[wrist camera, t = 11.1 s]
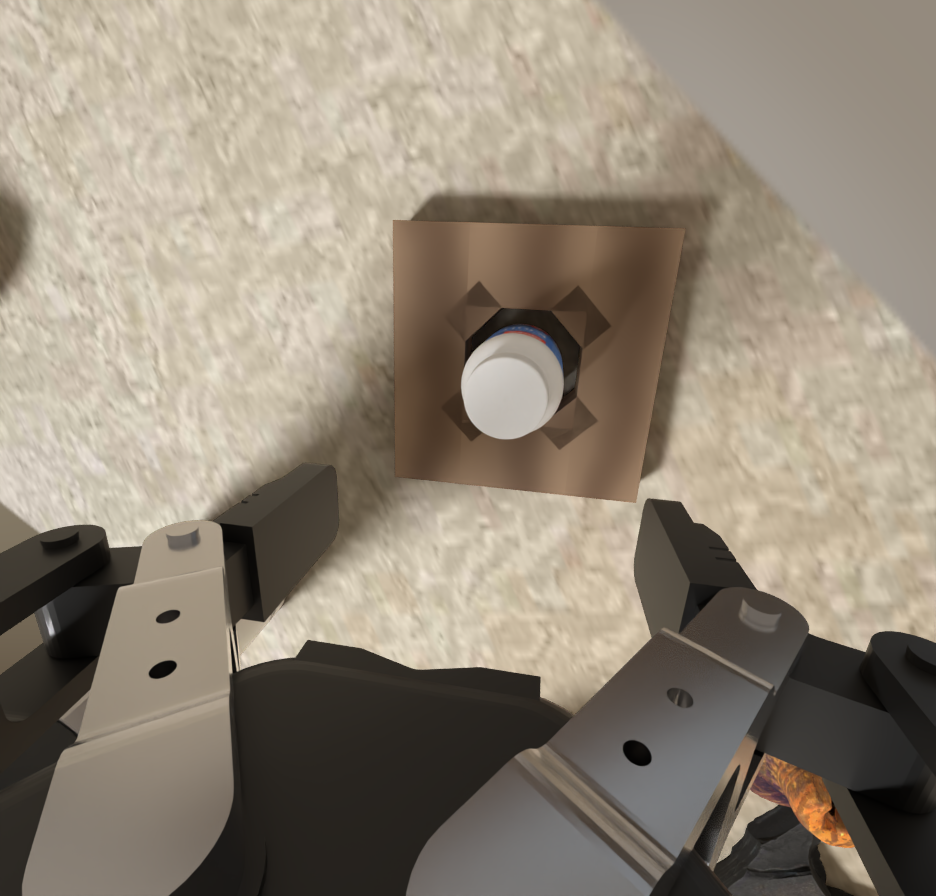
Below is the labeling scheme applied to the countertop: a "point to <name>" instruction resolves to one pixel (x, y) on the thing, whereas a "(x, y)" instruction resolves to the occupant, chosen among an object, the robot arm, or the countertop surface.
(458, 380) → the socket board
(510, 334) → the pill bottle
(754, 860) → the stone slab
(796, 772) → the bell
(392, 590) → the countertop surface
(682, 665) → the robot arm
